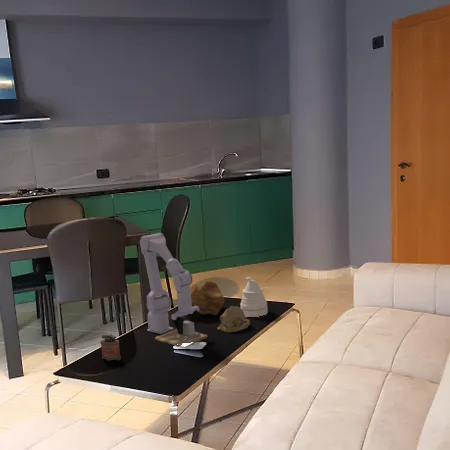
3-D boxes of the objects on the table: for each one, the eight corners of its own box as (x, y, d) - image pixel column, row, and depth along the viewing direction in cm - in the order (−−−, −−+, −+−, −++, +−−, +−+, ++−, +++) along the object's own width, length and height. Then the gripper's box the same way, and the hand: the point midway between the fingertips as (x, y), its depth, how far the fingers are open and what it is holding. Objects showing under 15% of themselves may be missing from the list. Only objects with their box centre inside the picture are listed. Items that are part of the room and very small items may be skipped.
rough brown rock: (213, 322, 261) (213, 291, 258) (182, 317, 268) (182, 286, 265) (234, 309, 281) (234, 280, 279) (204, 304, 288) (205, 276, 286)
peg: (190, 340, 234) (188, 324, 233) (181, 338, 237) (180, 322, 236) (195, 338, 236) (193, 322, 235) (186, 336, 239) (185, 320, 238)
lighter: (122, 357, 222) (120, 333, 221) (118, 361, 219) (115, 336, 218) (104, 356, 225) (102, 332, 223) (100, 359, 222) (97, 335, 220)
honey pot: (248, 319, 259) (245, 282, 256) (236, 312, 270) (234, 276, 268) (272, 314, 264) (270, 277, 261) (260, 308, 275) (257, 272, 273)
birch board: (155, 339, 240) (154, 333, 240) (178, 330, 251) (177, 323, 250) (184, 347, 228) (183, 340, 228) (207, 337, 239) (207, 330, 238)
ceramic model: (226, 334, 241) (225, 312, 240) (213, 328, 251) (212, 306, 249) (253, 327, 248) (252, 305, 247) (239, 321, 258) (238, 300, 256)
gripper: (178, 306, 226) (181, 338, 228) (203, 297, 237) (205, 328, 239) (166, 303, 231) (169, 335, 233) (191, 295, 242) (193, 325, 244)
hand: (187, 331), depth 236 cm, fingers open, 7 cm apart
